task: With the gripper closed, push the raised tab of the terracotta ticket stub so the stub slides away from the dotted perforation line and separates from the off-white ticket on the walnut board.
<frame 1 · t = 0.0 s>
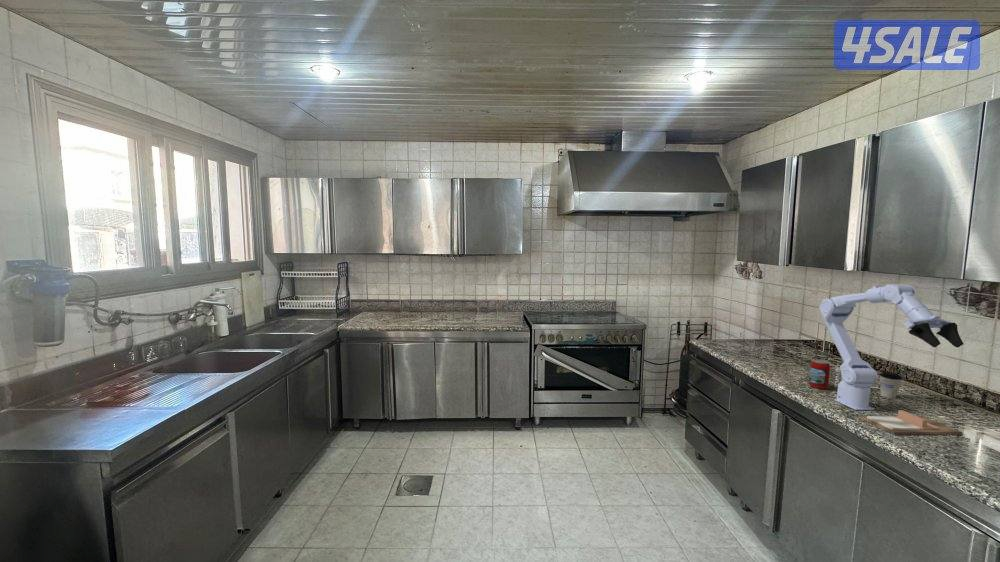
hand: (948, 345, 124), 32 cm above the counter, tool tilted 50°, fingers open, 7 cm apart
ticket stub: (917, 419, 138), point 3 cm above the counter, slide at 0.0 cm
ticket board: (908, 426, 138), on the counter
coffee cup: (888, 396, 166), on the counter
beverage can: (818, 387, 175), on the counter
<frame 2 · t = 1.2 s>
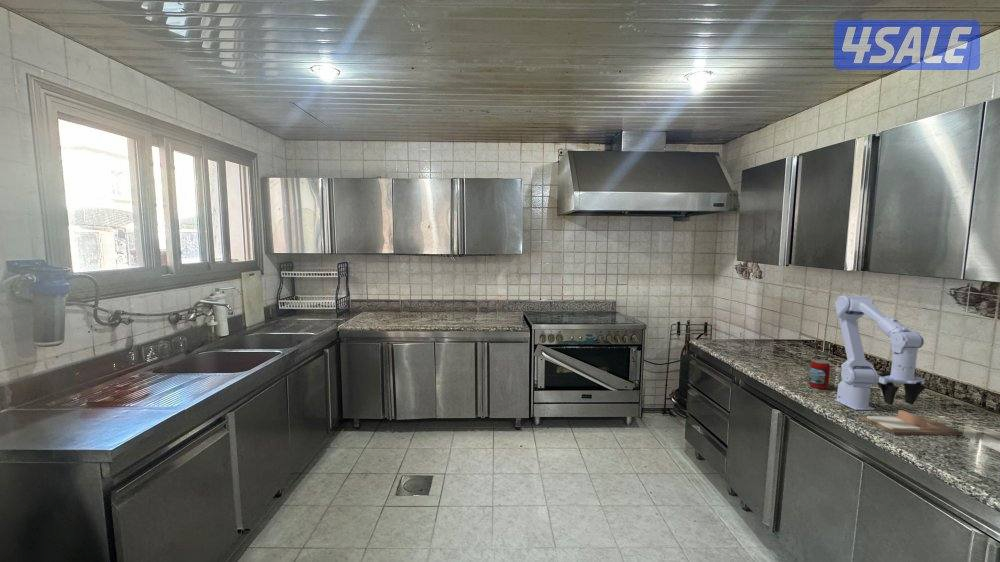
hand: (898, 403, 137), 9 cm above the counter, tool pointing down, fingers open, 7 cm apart
nothing on the counter moved.
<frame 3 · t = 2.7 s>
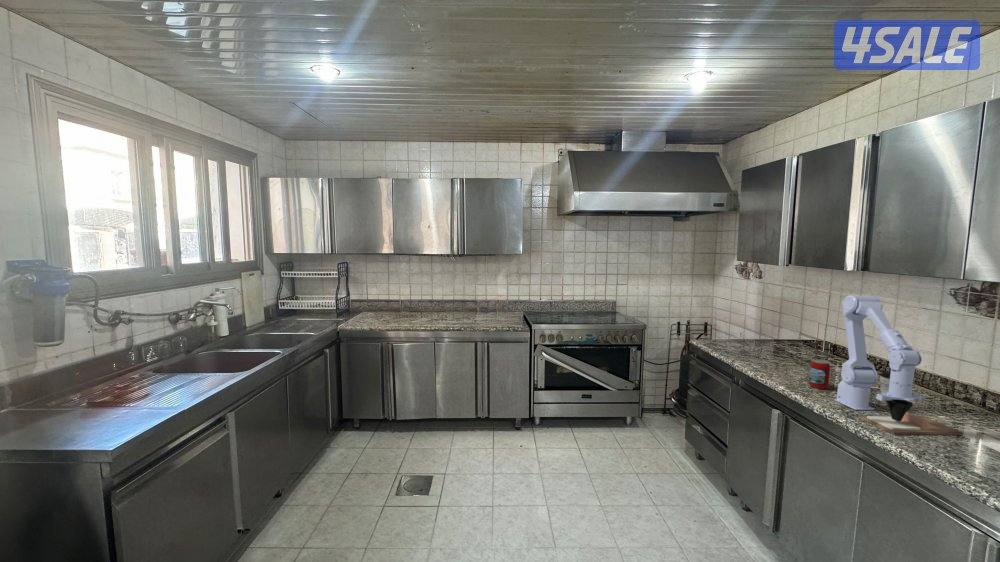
hand: (896, 419, 138), 2 cm above the counter, tool pointing down, fingers closed
nothing on the counter moved.
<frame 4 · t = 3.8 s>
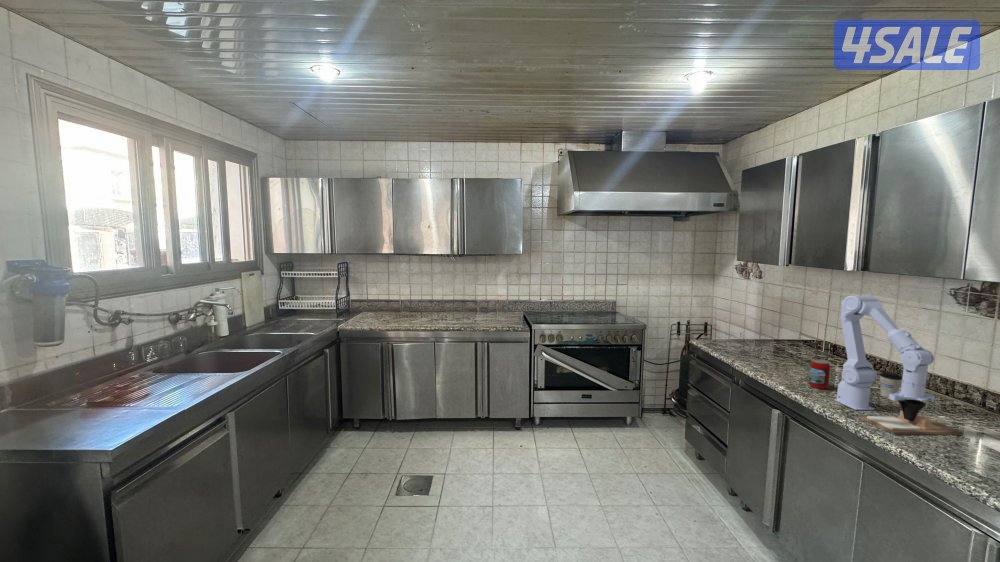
hand: (908, 419, 138), 2 cm above the counter, tool pointing down, fingers closed
ticket stub: (919, 419, 138), point 3 cm above the counter, slide at 0.7 cm, touching gripper
everything else where it was.
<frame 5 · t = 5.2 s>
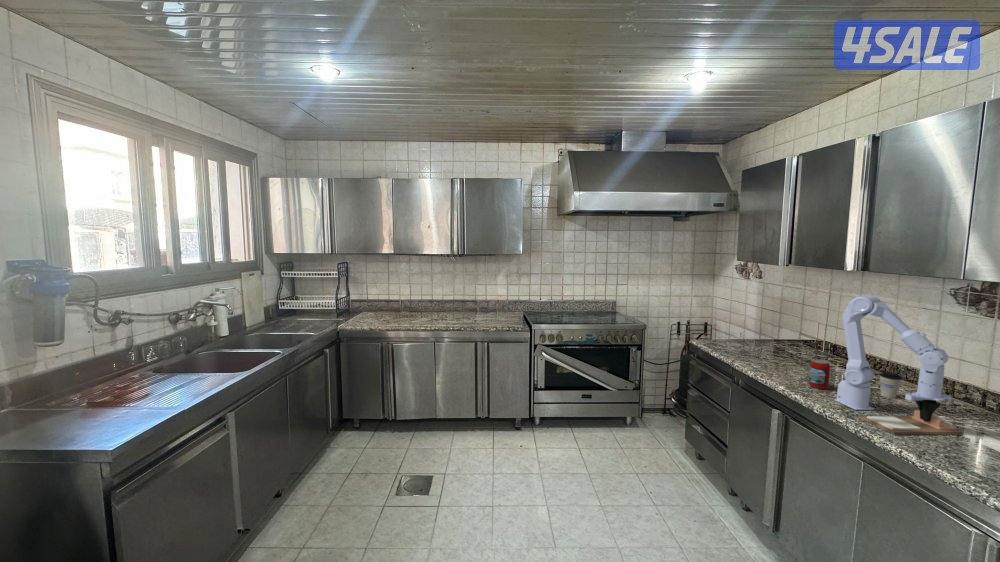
hand: (925, 420, 138), 2 cm above the counter, tool pointing down, fingers closed, pressing on ticket stub
ticket stub: (933, 419, 138), point 3 cm above the counter, slide at 6.1 cm, touching gripper
everything else where it was.
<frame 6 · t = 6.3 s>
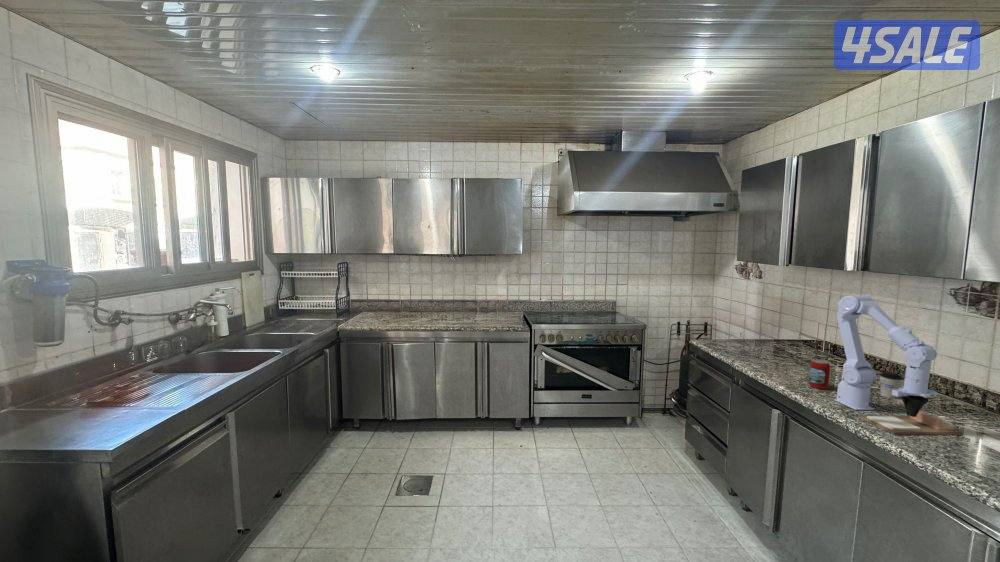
hand: (911, 415, 139), 4 cm above the counter, tool pointing down, fingers closed
ticket stub: (932, 419, 138), point 3 cm above the counter, slide at 5.6 cm
everything else where it was.
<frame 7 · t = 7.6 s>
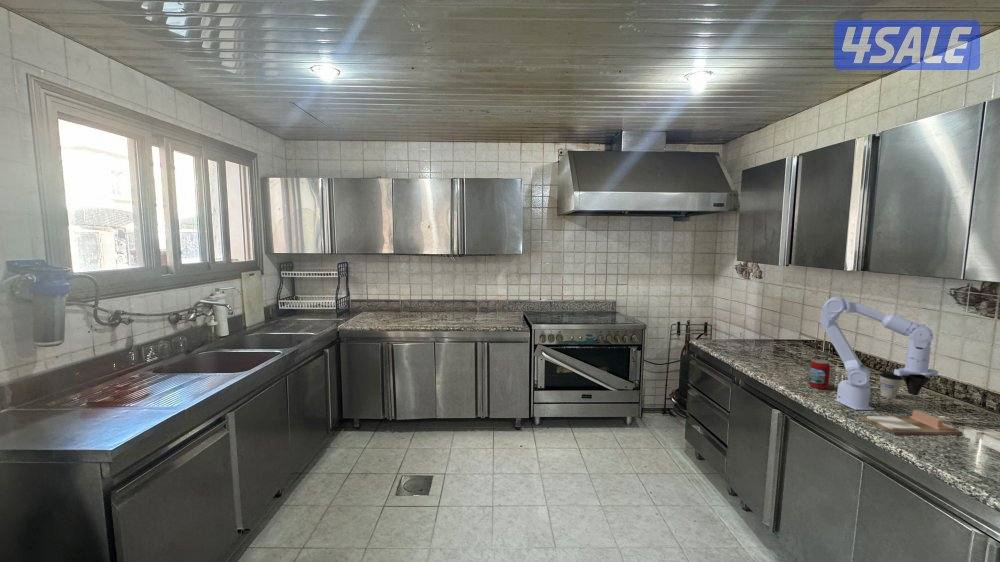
hand: (912, 394, 144), 9 cm above the counter, tool pointing down, fingers closed
nothing on the counter moved.
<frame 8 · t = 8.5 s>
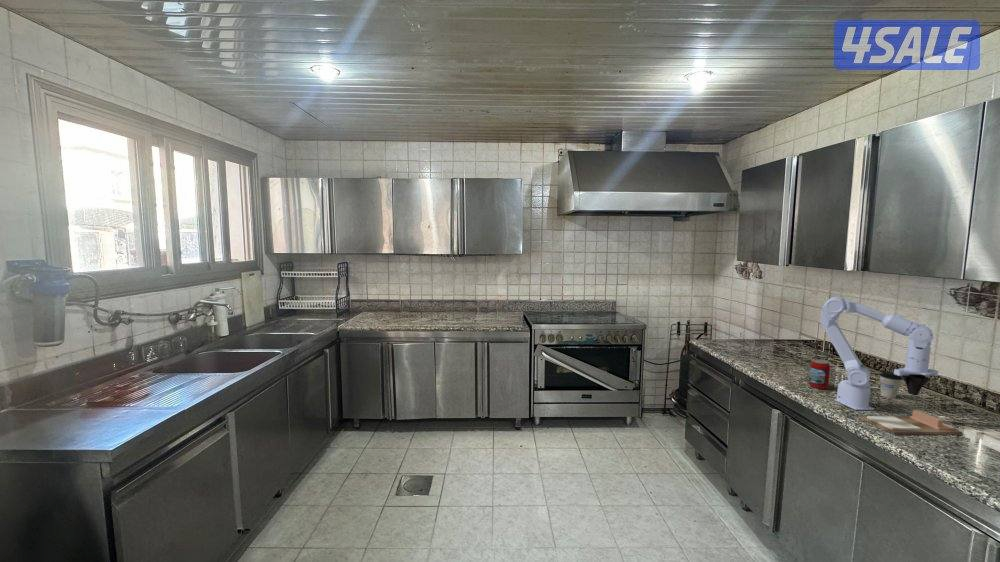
hand: (912, 394, 144), 9 cm above the counter, tool pointing down, fingers closed
nothing on the counter moved.
at the end: ticket stub slide at 5.6 cm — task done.
